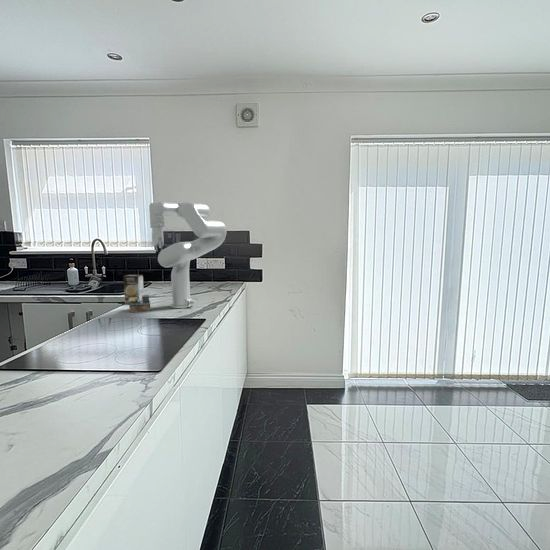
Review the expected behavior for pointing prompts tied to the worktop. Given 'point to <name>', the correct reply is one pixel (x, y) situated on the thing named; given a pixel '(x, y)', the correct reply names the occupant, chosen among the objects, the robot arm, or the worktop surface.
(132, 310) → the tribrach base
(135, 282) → the coffee box
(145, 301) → the instrument plate
